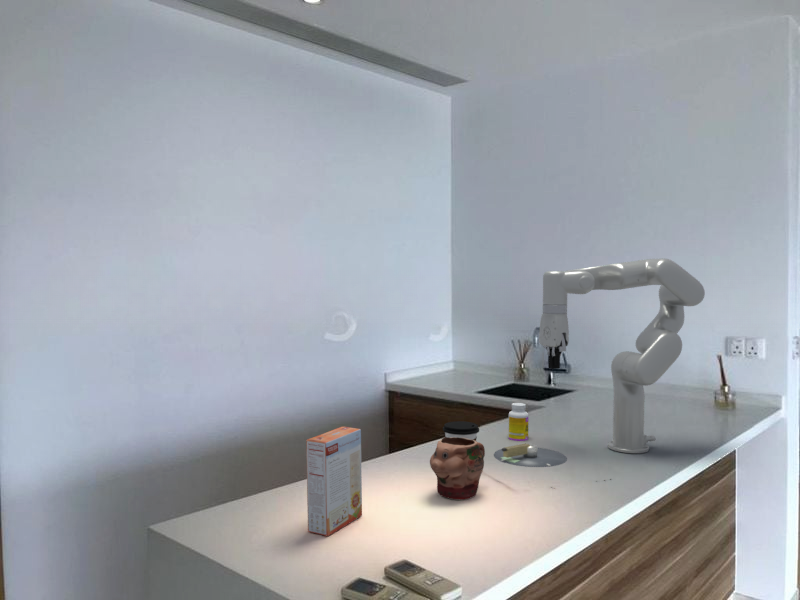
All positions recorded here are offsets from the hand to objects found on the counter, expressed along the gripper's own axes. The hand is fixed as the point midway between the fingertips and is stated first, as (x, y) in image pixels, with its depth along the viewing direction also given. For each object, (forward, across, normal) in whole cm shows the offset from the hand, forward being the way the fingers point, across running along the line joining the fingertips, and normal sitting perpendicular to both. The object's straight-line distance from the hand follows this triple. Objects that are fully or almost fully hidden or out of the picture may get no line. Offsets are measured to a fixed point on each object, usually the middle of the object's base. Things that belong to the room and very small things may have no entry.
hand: (554, 368), depth 205 cm
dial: (+27, +4, -11) cm, 30 cm away
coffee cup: (+27, +1, -33) cm, 43 cm away
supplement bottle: (+27, -16, -3) cm, 32 cm away
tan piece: (+26, +5, -15) cm, 30 cm away
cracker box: (+27, +32, -80) cm, 90 cm away
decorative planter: (+27, +23, -44) cm, 57 cm away
